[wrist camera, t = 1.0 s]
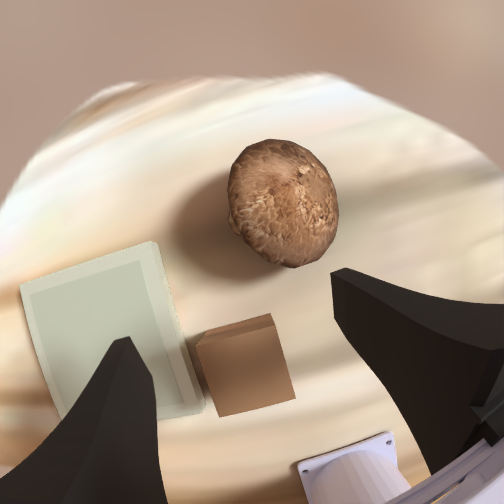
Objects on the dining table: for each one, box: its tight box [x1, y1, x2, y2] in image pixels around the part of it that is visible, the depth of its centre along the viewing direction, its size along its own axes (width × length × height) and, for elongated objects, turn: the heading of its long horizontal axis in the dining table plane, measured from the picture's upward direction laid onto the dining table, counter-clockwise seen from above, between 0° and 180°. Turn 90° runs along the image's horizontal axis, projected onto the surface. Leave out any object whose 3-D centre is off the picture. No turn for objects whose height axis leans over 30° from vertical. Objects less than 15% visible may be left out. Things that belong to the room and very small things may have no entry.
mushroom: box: [227, 139, 339, 268], centre depth 20 cm, size 8×8×6 cm
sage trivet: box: [19, 241, 206, 421], centre depth 21 cm, size 12×12×2 cm
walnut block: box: [195, 313, 296, 417], centre depth 19 cm, size 4×4×5 cm
